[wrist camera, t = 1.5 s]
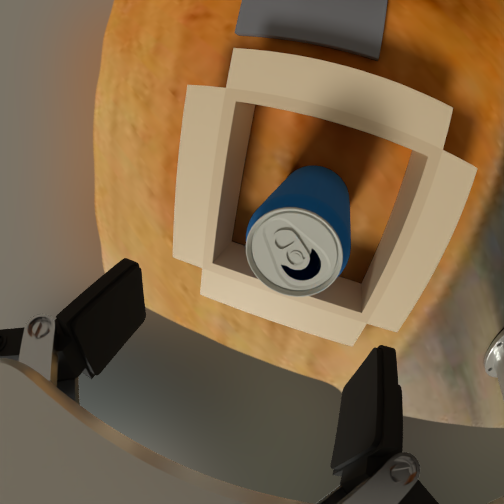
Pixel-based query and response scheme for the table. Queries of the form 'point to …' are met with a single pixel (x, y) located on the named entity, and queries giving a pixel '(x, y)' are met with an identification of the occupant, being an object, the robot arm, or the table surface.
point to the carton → (342, 112)
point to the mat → (317, 23)
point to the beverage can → (301, 233)
